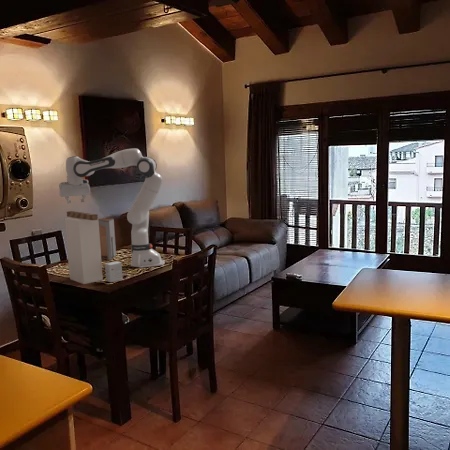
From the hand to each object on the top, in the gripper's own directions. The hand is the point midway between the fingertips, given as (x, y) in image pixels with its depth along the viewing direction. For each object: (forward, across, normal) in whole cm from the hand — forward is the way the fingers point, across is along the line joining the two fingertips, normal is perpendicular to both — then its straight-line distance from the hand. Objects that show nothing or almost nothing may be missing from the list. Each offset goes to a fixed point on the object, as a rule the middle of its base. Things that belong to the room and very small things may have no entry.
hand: (75, 202), depth 308 cm
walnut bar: (+6, -14, -35) cm, 38 cm away
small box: (+43, -4, -50) cm, 66 cm away
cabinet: (+43, +28, +11) cm, 53 cm away
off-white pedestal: (+43, -14, -34) cm, 57 cm away
